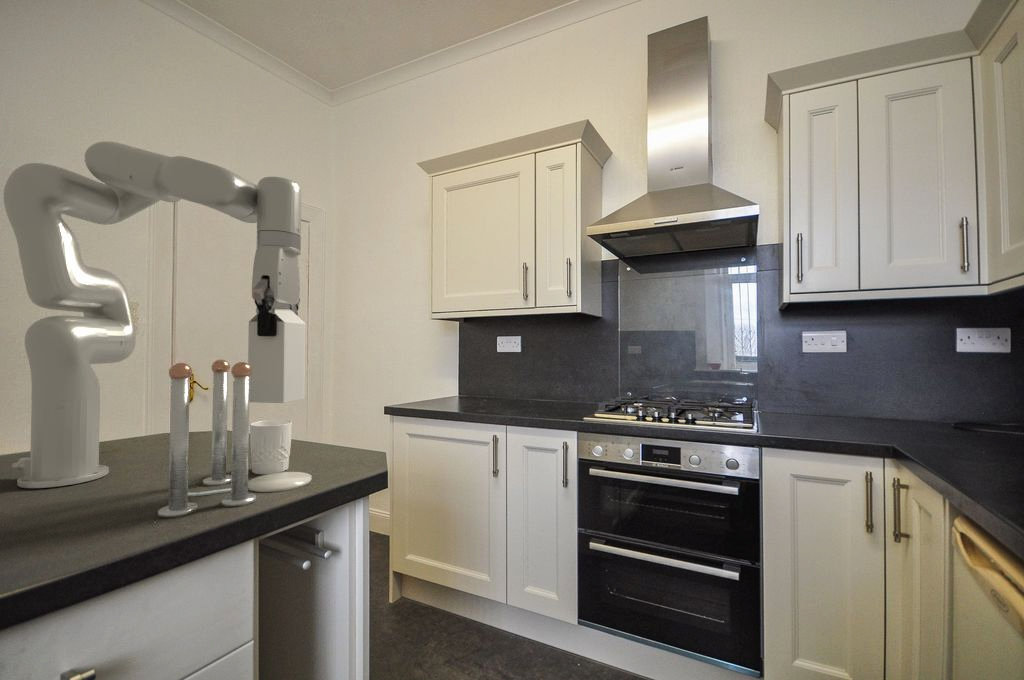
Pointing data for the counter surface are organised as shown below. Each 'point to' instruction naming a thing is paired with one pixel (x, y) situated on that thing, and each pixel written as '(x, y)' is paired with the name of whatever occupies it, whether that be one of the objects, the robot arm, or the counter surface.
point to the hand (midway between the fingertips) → (277, 336)
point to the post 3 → (240, 438)
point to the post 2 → (219, 425)
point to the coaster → (279, 481)
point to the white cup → (270, 446)
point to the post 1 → (179, 444)
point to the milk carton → (278, 359)
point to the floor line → (209, 492)
